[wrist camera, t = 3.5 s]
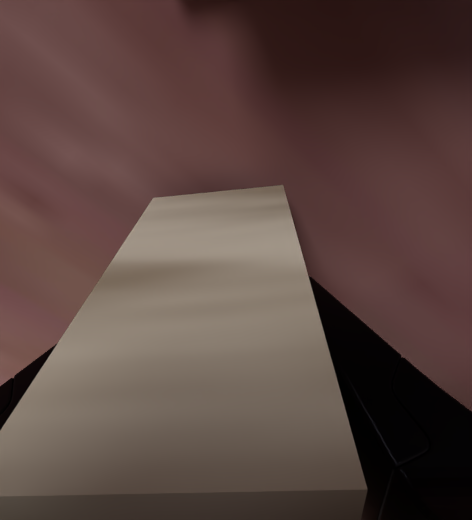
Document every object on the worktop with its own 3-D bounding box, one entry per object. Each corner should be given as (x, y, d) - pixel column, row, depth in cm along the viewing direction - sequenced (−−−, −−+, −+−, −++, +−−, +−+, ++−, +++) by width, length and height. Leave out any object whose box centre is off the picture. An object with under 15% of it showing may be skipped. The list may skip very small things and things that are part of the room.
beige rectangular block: (286, 290, 12) (341, 608, 5) (179, 298, 12) (95, 604, 5) (282, 185, 10) (368, 490, 3) (153, 198, 10) (-43, 496, 3)
